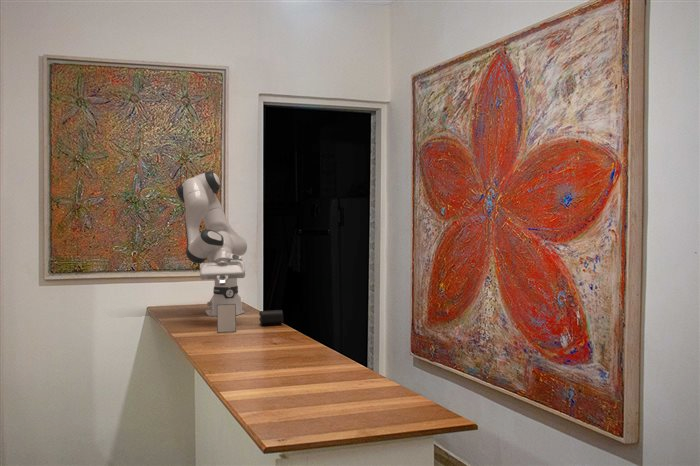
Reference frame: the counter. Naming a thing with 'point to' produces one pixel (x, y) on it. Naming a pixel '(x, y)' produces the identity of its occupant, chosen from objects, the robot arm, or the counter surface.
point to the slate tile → (226, 318)
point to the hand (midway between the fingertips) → (222, 284)
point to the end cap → (271, 317)
